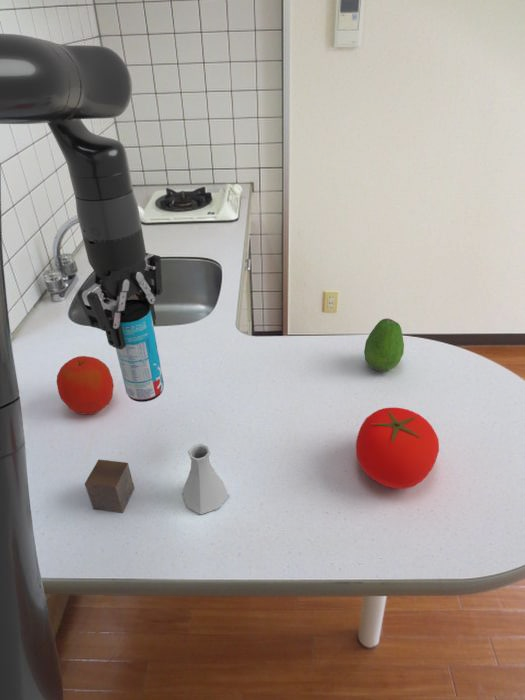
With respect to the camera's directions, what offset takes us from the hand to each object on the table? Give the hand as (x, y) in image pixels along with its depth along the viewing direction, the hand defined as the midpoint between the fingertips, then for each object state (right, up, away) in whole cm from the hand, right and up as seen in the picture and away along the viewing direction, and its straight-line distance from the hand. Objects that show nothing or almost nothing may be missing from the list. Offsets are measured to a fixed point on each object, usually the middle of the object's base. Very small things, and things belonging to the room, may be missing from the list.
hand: (134, 335), depth 77 cm
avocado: (+44, -6, +34) cm, 56 cm away
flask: (+10, -26, +7) cm, 28 cm away
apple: (-15, -13, +27) cm, 33 cm away
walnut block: (-5, -26, +8) cm, 28 cm away
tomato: (+41, -22, +11) cm, 47 cm away
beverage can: (0, -9, +6) cm, 11 cm away
